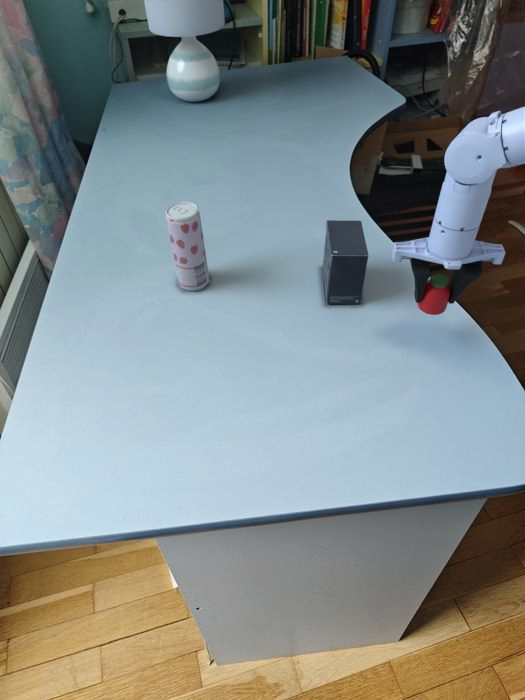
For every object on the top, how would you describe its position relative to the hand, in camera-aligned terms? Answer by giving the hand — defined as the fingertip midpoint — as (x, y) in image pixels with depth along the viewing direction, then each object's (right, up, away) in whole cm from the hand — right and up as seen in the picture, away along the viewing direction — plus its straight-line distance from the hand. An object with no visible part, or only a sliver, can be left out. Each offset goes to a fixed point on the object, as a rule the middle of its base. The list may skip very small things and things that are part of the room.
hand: (433, 298), depth 73 cm
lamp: (-47, +72, +80) cm, 118 cm away
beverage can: (-38, +5, +18) cm, 42 cm away
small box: (-11, +4, +15) cm, 19 cm away
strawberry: (0, -1, +1) cm, 1 cm away
